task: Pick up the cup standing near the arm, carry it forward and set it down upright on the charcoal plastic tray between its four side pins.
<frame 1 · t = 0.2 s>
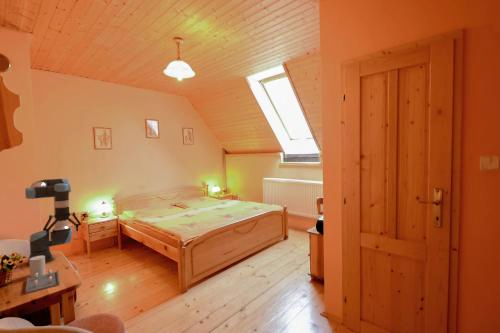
hand: (63, 238, 164), 27 cm above the table, fingers open, 13 cm apart
cup: (37, 275, 171), on the table
tray: (43, 282, 160), on the table
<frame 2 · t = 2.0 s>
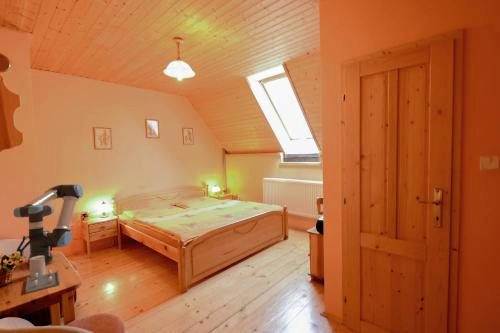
hand: (36, 258, 170), 12 cm above the table, fingers open, 13 cm apart
nothing on the table moved.
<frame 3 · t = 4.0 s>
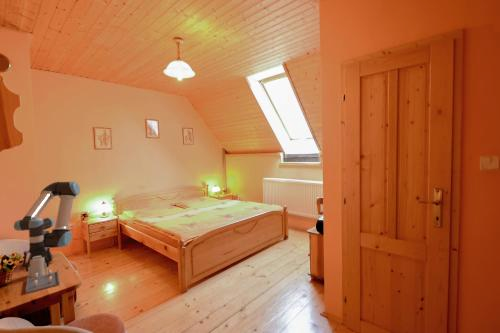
hand: (37, 273, 171), 1 cm above the table, fingers closed on cup, 8 cm apart
cup: (37, 275, 171), on the table, touching gripper
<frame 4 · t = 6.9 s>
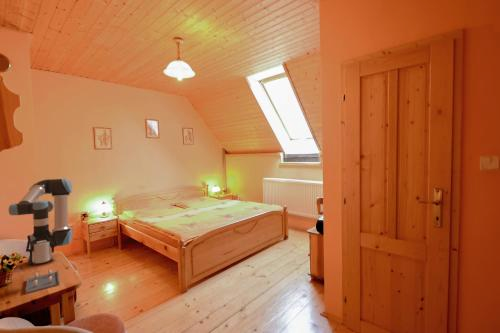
hand: (42, 259, 159), 15 cm above the table, fingers closed on cup, 8 cm apart
cup: (42, 260, 159), point 14 cm above the table, touching gripper
when the fingers open (3 cm above the table, at t = 9.8 s): cup drops 1 cm, resting on tray.
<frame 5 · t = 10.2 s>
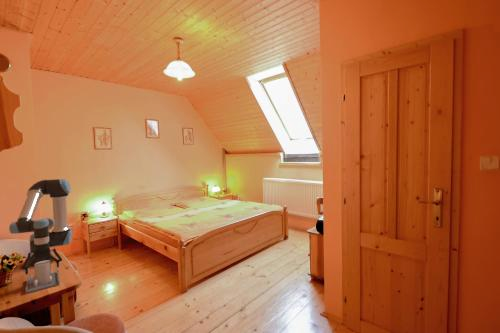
hand: (43, 275, 159), 5 cm above the table, fingers open, 13 cm apart
cup: (43, 281, 160), point 1 cm above the table, touching tray
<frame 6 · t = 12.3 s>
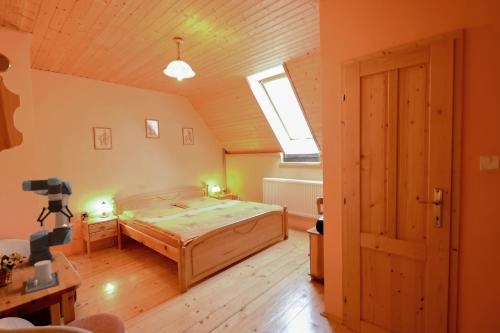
hand: (56, 229, 174), 31 cm above the table, fingers open, 13 cm apart
nothing on the table moved.
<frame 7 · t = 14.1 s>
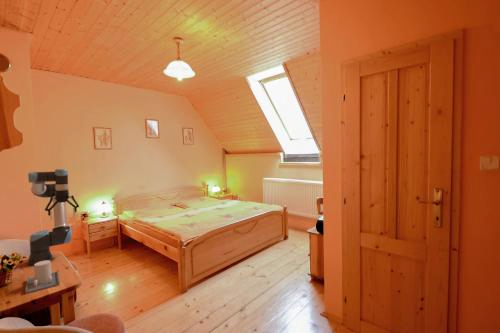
hand: (62, 218, 181), 37 cm above the table, fingers open, 13 cm apart
nothing on the table moved.
at the end: cup 0.1 cm from the tray (horizontally); cup point 0.8 cm above the table; cup tilted 0° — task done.
